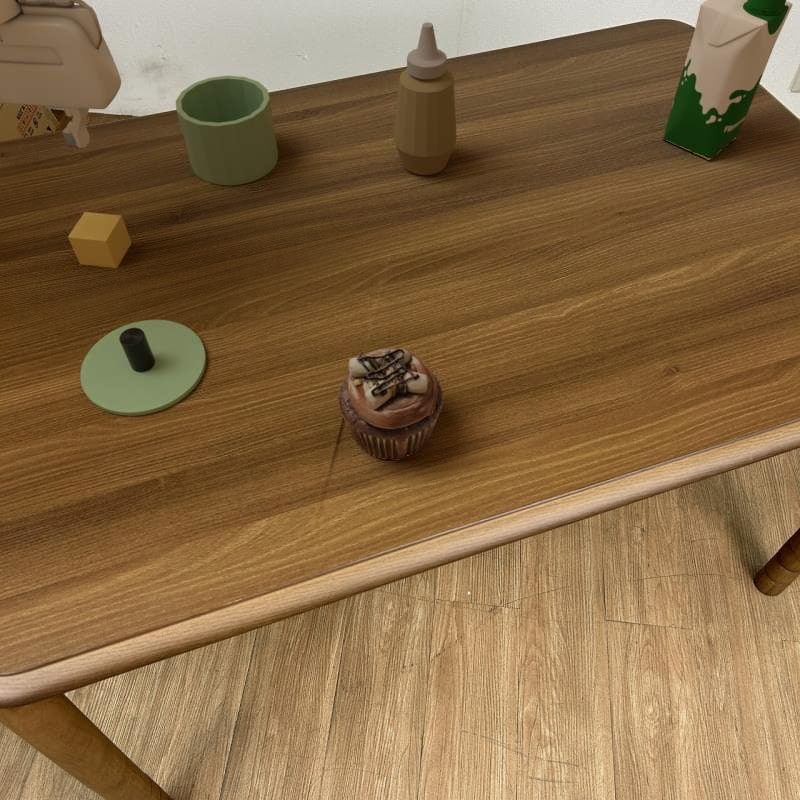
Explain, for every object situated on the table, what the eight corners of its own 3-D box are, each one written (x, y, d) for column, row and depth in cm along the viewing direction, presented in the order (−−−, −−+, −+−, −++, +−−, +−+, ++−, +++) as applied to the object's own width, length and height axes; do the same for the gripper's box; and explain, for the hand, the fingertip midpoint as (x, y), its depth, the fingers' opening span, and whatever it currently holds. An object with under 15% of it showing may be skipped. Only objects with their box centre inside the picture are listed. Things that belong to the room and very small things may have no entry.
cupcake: (461, 438, 71) (468, 370, 63) (375, 486, 67) (371, 420, 59) (406, 374, 76) (406, 303, 68) (323, 415, 72) (313, 346, 64)
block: (81, 267, 86) (67, 236, 82) (97, 242, 88) (84, 211, 85) (118, 271, 85) (105, 240, 82) (133, 246, 88) (121, 215, 84)
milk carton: (711, 167, 97) (771, 9, 81) (651, 140, 101) (697, -16, 85) (744, 139, 101) (808, -16, 85) (686, 114, 105) (735, -39, 89)
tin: (179, 181, 96) (162, 121, 89) (207, 131, 103) (193, 72, 96) (264, 189, 95) (254, 129, 88) (287, 138, 102) (279, 79, 95)
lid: (63, 411, 73) (42, 377, 69) (113, 321, 80) (97, 285, 76) (183, 427, 72) (170, 393, 68) (223, 334, 79) (213, 298, 75)
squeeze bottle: (384, 173, 97) (380, 34, 82) (407, 140, 101) (407, 3, 87) (442, 187, 95) (449, 47, 80) (463, 153, 99) (473, 15, 85)
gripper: (102, -26, 60) (149, 129, 71) (-133, -36, 62) (-53, 116, 73) (72, 10, 56) (126, 168, 67) (-179, -2, 58) (-86, 153, 69)
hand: (32, 141), depth 70 cm, fingers open, 8 cm apart
